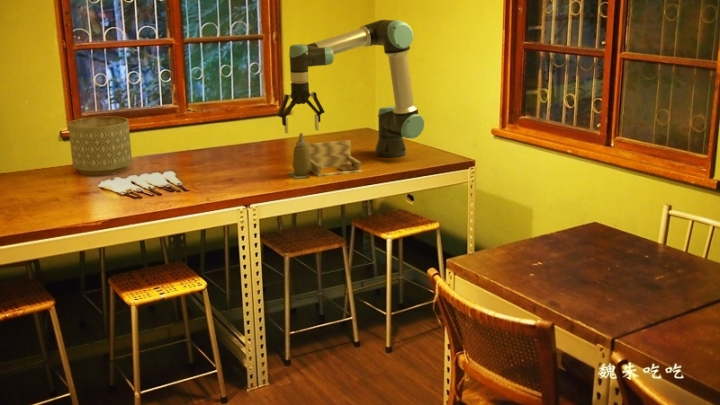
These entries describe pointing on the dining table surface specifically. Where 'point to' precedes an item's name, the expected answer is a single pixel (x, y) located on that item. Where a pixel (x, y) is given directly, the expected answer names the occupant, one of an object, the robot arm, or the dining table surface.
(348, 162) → the offcut top
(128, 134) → the planter
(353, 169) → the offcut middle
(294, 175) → the mat
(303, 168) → the squeeze bottle
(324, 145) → the rack
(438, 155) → the dining table surface
